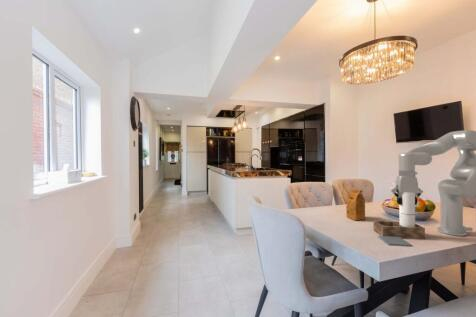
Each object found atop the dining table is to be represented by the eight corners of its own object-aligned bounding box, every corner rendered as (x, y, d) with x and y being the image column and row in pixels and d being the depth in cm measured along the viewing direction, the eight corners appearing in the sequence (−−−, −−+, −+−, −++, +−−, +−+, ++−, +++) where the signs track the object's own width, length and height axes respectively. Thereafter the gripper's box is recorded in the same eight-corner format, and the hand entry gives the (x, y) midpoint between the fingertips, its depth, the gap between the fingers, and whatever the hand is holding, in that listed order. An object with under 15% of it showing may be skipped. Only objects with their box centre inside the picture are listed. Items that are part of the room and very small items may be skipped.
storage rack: (411, 231, 130) (411, 221, 130) (425, 238, 119) (424, 228, 119) (373, 230, 134) (373, 220, 133) (382, 237, 122) (382, 226, 122)
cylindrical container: (409, 237, 121) (408, 193, 121) (396, 233, 128) (396, 191, 128) (418, 236, 123) (418, 192, 123) (405, 232, 130) (405, 190, 130)
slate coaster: (399, 238, 120) (399, 236, 120) (412, 246, 109) (412, 244, 109) (378, 237, 122) (378, 235, 122) (388, 245, 111) (388, 243, 111)
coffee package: (356, 216, 166) (356, 187, 166) (367, 220, 153) (367, 190, 153) (344, 216, 165) (343, 187, 165) (354, 221, 153) (353, 190, 153)
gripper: (419, 173, 128) (419, 203, 128) (387, 173, 130) (387, 202, 130) (428, 174, 120) (428, 206, 120) (393, 174, 123) (394, 205, 123)
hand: (407, 204), depth 125 cm, fingers closed on cylindrical container, 7 cm apart
